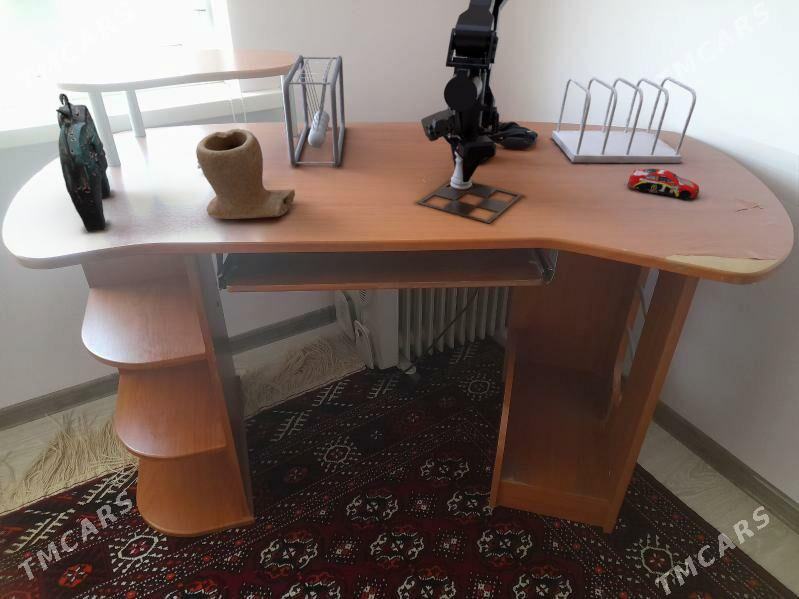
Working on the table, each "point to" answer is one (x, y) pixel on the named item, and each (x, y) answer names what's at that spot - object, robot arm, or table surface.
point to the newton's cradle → (321, 117)
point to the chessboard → (465, 208)
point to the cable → (514, 136)
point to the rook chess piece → (459, 176)
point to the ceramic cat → (83, 163)
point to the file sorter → (620, 143)
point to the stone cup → (238, 177)
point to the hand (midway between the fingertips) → (461, 177)
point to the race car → (663, 183)
